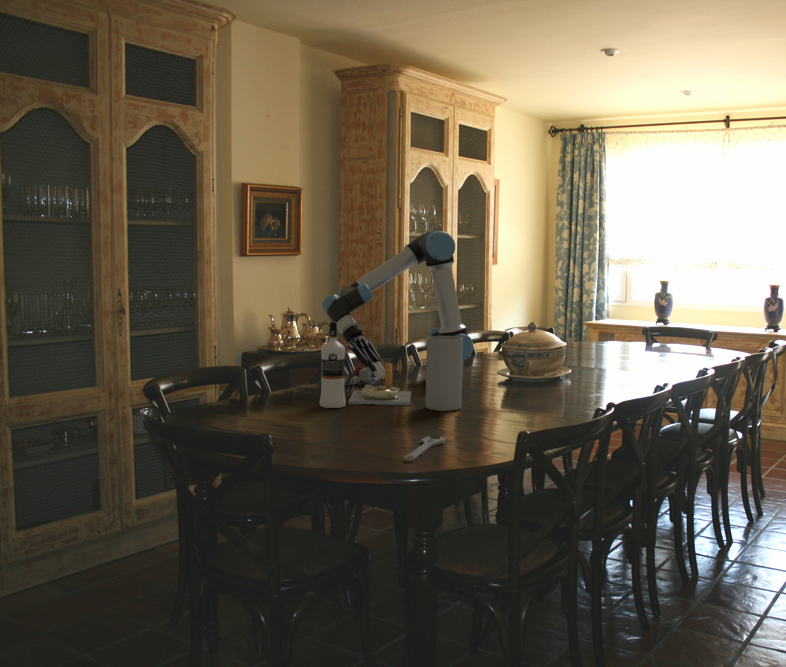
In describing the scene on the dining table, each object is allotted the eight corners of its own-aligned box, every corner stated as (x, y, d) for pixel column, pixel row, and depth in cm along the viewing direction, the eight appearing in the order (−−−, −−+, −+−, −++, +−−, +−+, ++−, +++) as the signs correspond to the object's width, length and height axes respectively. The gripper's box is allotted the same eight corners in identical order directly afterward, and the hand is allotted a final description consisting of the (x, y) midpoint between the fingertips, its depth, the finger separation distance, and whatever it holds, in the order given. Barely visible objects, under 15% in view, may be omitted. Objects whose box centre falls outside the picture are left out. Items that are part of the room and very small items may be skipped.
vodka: (347, 404, 263) (348, 321, 260) (343, 409, 253) (344, 323, 251) (322, 403, 264) (322, 320, 261) (317, 408, 254) (317, 322, 252)
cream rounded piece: (406, 394, 276) (406, 364, 275) (387, 400, 264) (387, 369, 263) (375, 390, 283) (375, 361, 282) (354, 396, 271) (355, 365, 270)
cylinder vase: (418, 407, 258) (419, 337, 256) (443, 403, 266) (445, 335, 264) (442, 413, 249) (444, 340, 247) (468, 409, 257) (470, 338, 255)
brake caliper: (383, 376, 312) (379, 356, 304) (378, 396, 304) (374, 375, 296) (357, 375, 314) (353, 355, 306) (352, 394, 306) (347, 374, 298)
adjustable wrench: (412, 465, 187) (412, 458, 187) (390, 462, 190) (390, 455, 189) (448, 443, 209) (448, 437, 209) (427, 440, 212) (427, 434, 212)
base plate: (410, 394, 284) (411, 390, 284) (409, 405, 262) (409, 401, 262) (354, 393, 285) (354, 389, 285) (348, 404, 263) (348, 400, 263)
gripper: (355, 334, 294) (388, 380, 287) (331, 336, 281) (365, 385, 274) (366, 322, 290) (400, 368, 283) (343, 324, 277) (377, 373, 270)
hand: (383, 377), depth 278 cm, fingers open, 2 cm apart
